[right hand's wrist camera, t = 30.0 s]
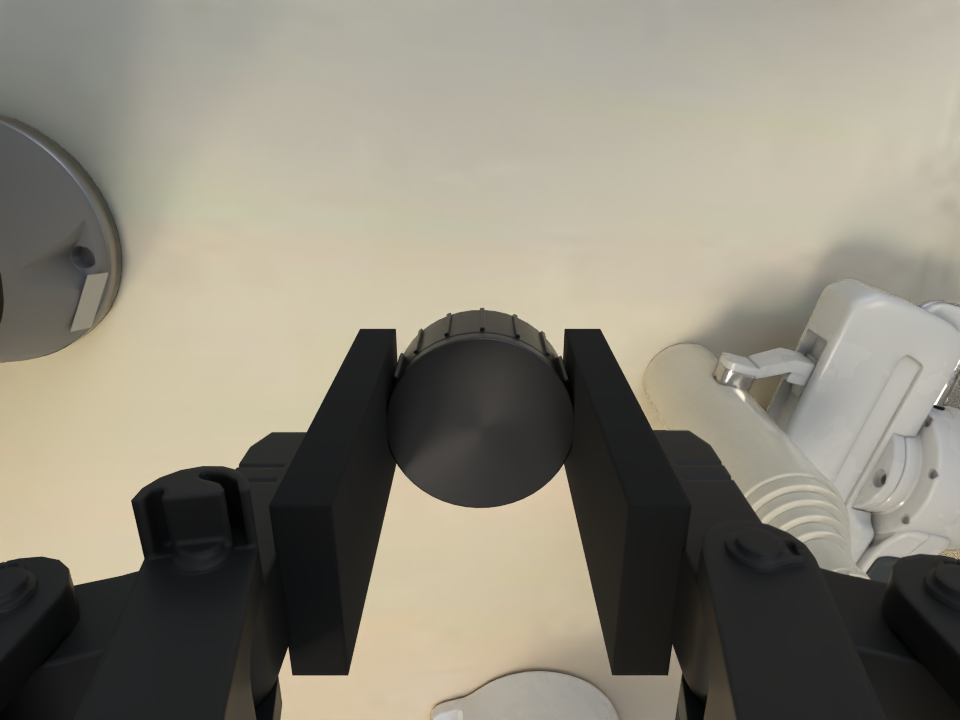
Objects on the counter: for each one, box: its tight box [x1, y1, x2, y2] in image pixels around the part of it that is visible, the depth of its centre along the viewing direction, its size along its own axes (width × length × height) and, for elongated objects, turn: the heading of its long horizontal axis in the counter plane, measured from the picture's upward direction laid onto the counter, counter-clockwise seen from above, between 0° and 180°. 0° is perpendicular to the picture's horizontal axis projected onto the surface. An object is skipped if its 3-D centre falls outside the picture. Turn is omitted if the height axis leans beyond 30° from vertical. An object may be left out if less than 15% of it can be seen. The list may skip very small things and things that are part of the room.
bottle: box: [644, 343, 871, 580], centre depth 35 cm, size 5×5×22 cm
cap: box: [386, 308, 574, 508], centre depth 13 cm, size 4×4×2 cm
